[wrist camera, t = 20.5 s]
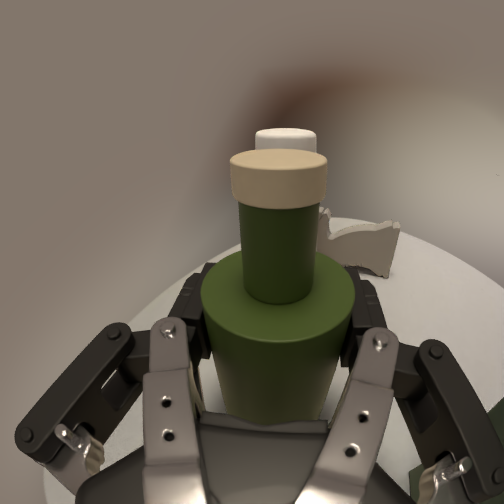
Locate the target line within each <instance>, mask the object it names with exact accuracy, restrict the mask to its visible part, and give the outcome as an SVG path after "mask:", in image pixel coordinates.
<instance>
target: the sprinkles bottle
mask: <svg viewBox="0 0 504 504" xmlns="http://www.w3.org/2000/svg"><path fill="white" fill-rule="evenodd" d="M255 144H256V150H260V149H297V150H304V151H310V152H314V153H316V135H315V133H314V132H312V131H308V130H302V129H290V128H277V129H267V130H261V131H259V132H257V133H256V135H255Z"/></svg>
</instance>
